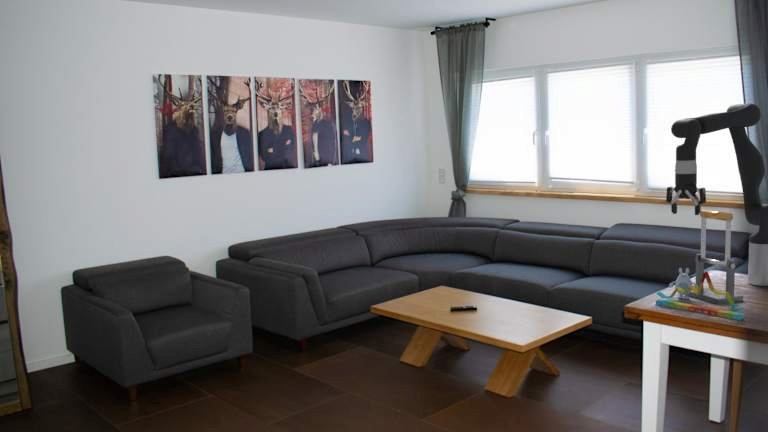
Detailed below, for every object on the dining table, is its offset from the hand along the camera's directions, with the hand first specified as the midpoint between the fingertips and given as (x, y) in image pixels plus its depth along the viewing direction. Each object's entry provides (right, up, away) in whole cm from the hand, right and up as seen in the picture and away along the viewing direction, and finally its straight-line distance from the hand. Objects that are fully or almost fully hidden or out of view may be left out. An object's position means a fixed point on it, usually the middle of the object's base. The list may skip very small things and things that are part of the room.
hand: (685, 214), depth 263 cm
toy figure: (0, -33, +1) cm, 33 cm away
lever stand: (+11, -32, 0) cm, 34 cm away
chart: (-3, -35, -17) cm, 39 cm away
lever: (+10, -18, -2) cm, 21 cm away
